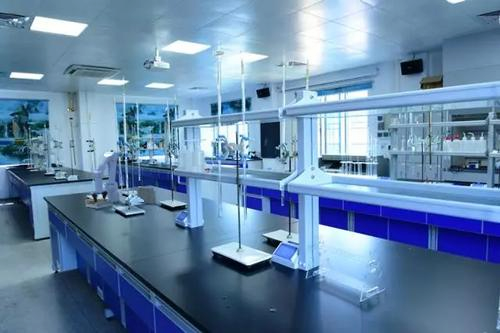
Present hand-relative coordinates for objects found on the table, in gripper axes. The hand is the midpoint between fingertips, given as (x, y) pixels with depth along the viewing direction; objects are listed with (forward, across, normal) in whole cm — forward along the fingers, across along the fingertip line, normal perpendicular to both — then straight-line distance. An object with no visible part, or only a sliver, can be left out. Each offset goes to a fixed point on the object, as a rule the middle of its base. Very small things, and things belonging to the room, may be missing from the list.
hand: (100, 201), depth 287 cm
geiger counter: (+4, +27, -22) cm, 35 cm away
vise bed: (+4, 0, 0) cm, 4 cm away
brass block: (+2, 0, 0) cm, 2 cm away
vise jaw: (+2, 0, +11) cm, 11 cm away
